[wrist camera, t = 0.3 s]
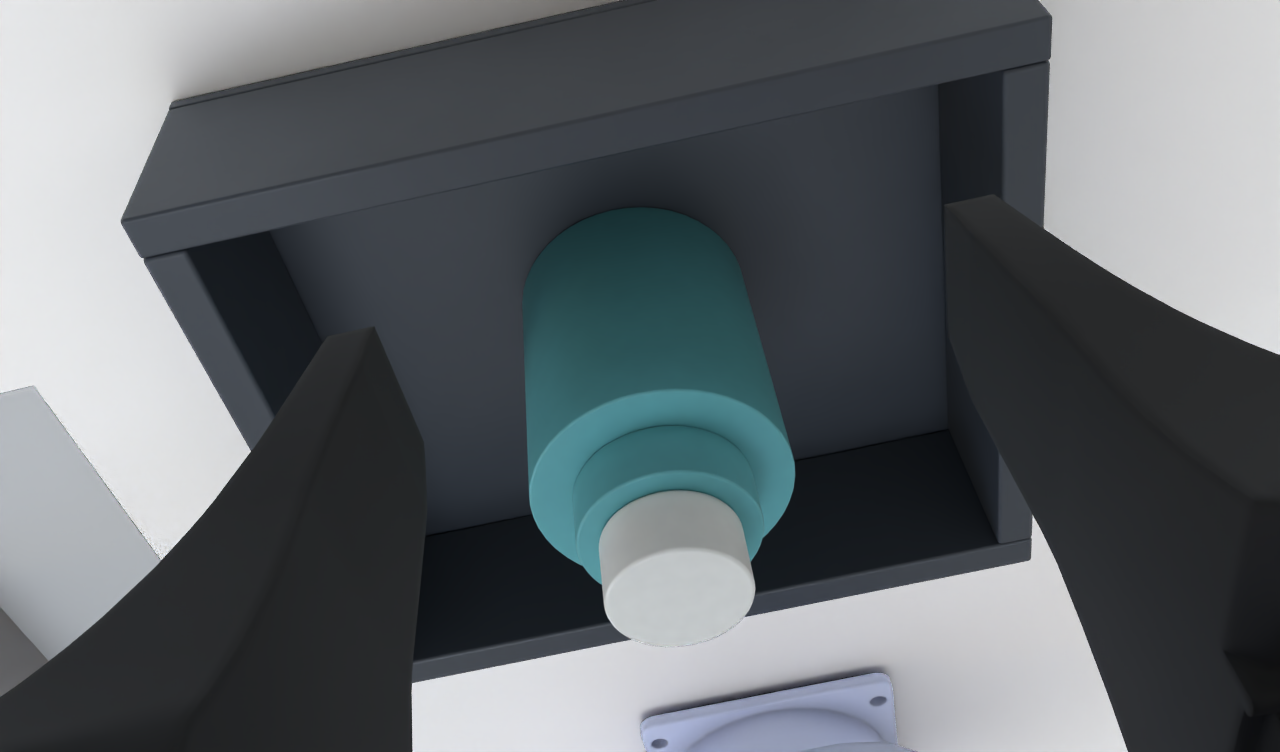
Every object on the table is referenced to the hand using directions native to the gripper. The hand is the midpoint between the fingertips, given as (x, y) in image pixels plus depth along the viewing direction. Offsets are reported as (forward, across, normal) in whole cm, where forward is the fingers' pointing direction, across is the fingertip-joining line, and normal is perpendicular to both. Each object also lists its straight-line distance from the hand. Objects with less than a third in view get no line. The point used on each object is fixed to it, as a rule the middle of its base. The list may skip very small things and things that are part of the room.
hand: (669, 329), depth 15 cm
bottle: (+10, +1, +7) cm, 12 cm away
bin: (+10, +1, +7) cm, 12 cm away
